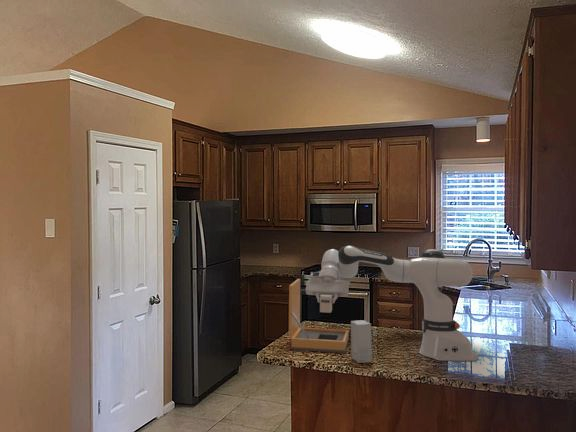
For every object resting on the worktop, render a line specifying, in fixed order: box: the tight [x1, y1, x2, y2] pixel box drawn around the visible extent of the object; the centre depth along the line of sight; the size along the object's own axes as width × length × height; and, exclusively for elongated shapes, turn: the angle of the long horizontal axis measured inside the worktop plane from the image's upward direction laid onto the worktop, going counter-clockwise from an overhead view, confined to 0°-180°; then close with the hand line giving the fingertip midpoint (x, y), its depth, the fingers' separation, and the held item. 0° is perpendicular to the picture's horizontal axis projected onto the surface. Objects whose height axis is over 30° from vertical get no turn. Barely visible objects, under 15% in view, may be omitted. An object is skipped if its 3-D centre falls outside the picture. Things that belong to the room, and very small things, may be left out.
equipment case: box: [288, 278, 350, 354], centre depth 222 cm, size 23×20×26 cm
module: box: [319, 294, 333, 314], centre depth 240 cm, size 5×5×8 cm
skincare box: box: [350, 319, 373, 364], centre depth 201 cm, size 8×6×15 cm
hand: (325, 302), depth 239 cm, fingers closed on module, 5 cm apart
